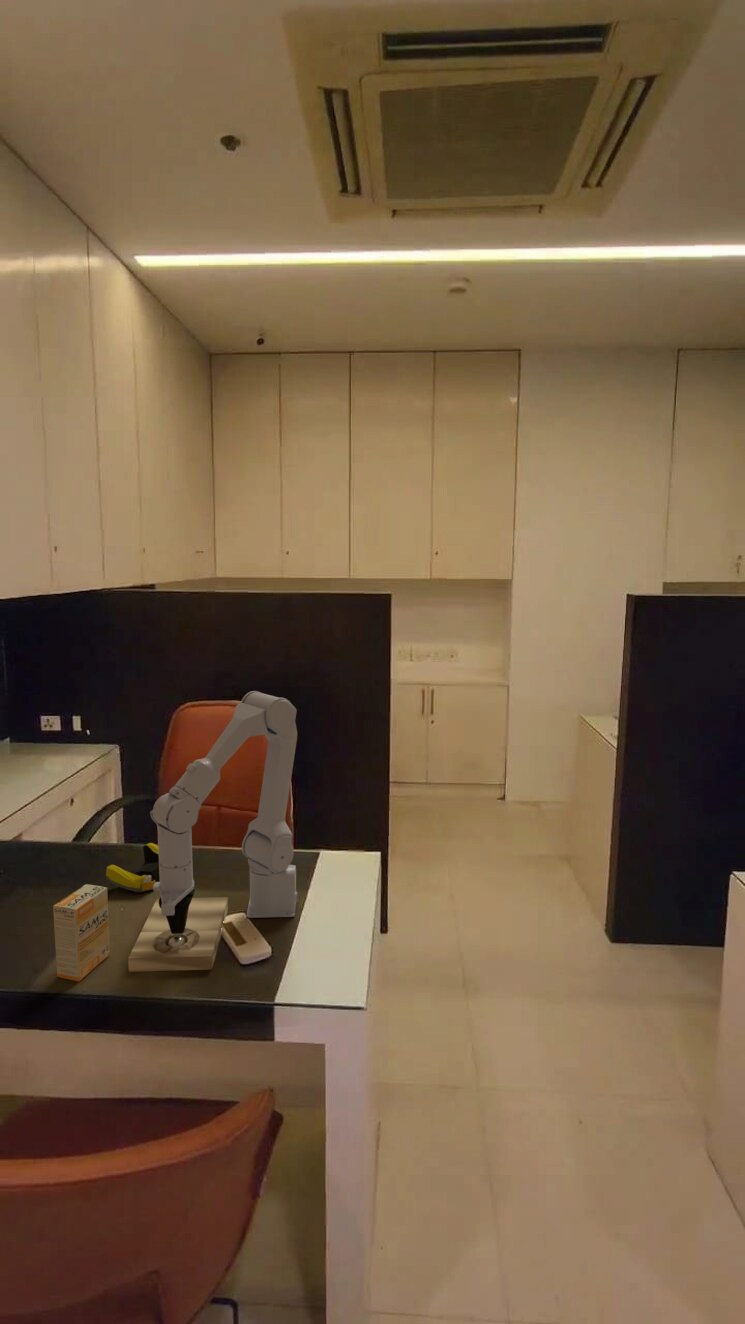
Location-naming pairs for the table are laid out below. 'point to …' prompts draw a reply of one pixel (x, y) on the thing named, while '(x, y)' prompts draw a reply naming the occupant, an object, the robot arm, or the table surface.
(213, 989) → the table surface
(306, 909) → the table surface
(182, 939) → the ball
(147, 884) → the gaming controller
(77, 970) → the supplement box
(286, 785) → the robot arm
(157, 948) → the beige flat block
